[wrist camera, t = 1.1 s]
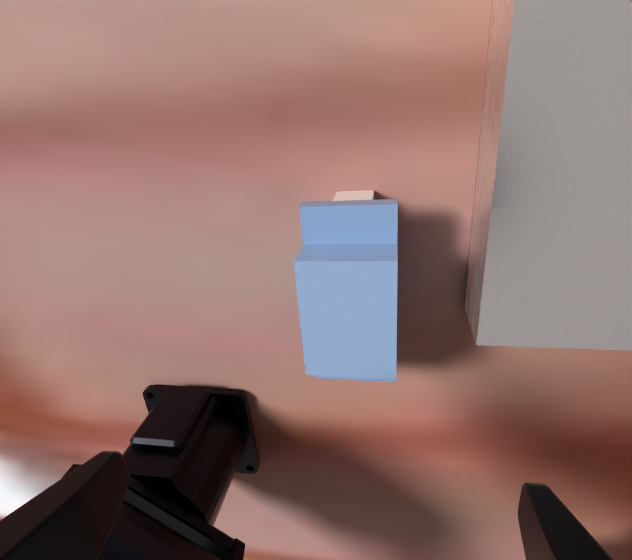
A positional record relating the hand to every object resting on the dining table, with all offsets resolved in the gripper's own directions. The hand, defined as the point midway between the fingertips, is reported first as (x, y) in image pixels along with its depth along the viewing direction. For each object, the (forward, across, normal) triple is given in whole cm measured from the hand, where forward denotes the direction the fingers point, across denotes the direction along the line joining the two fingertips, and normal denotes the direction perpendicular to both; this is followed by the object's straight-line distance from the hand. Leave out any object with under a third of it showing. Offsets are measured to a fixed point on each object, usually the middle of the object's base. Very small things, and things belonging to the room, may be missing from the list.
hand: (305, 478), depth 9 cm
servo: (+12, 0, 0) cm, 12 cm away
